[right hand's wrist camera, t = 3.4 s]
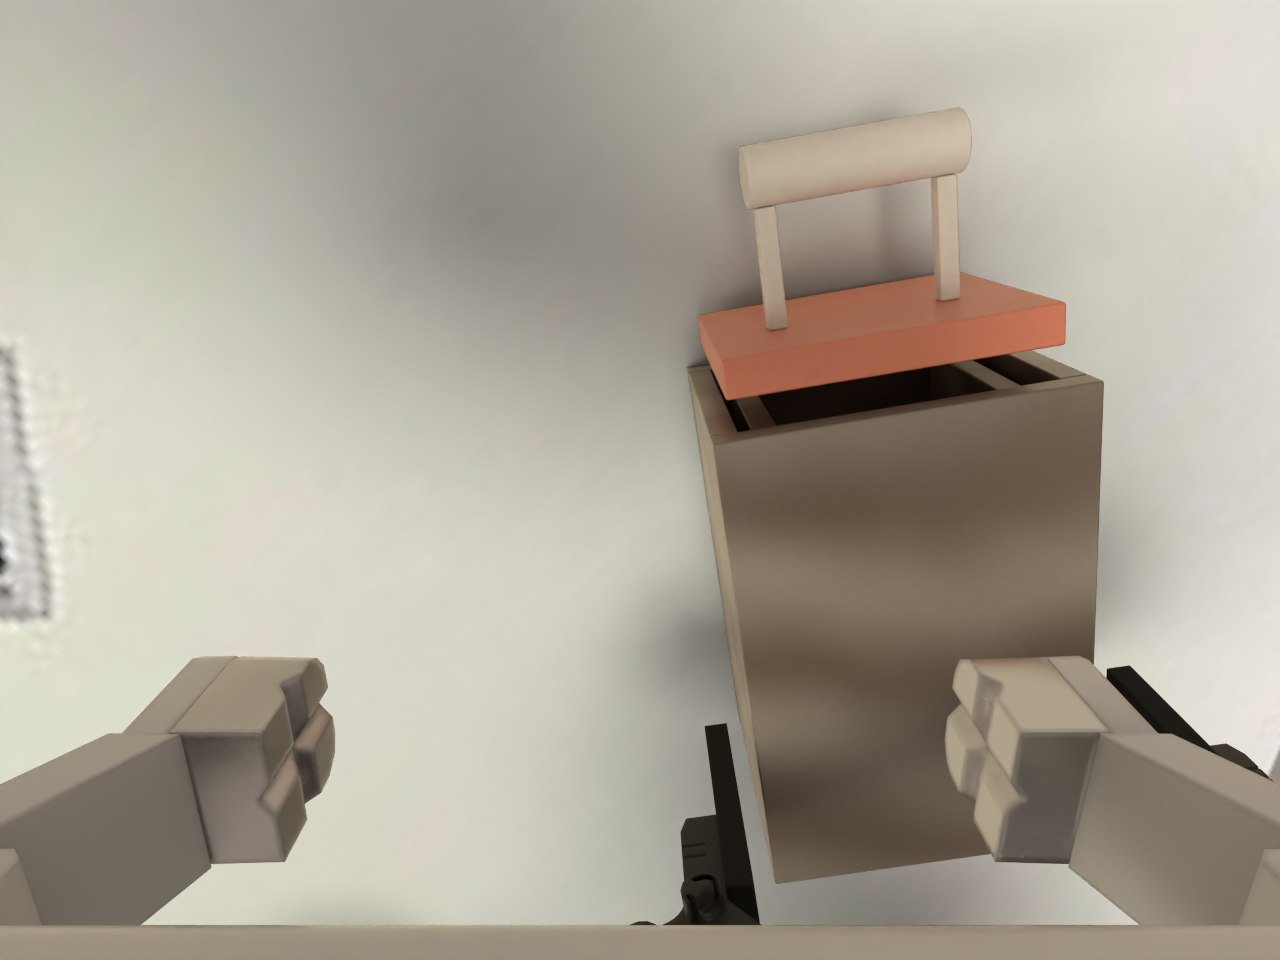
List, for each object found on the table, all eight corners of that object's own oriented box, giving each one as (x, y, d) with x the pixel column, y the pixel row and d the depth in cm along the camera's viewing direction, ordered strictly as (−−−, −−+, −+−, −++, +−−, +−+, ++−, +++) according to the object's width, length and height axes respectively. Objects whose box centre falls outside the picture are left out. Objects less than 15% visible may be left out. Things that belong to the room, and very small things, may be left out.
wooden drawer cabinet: (687, 367, 31) (712, 444, 22) (965, 320, 31) (1105, 380, 22) (738, 712, 37) (774, 885, 28) (974, 677, 37) (1088, 841, 28)
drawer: (675, 159, 28) (693, 153, 21) (952, 109, 28) (1071, 85, 20) (745, 662, 35) (778, 790, 28) (967, 628, 35) (1058, 750, 27)
